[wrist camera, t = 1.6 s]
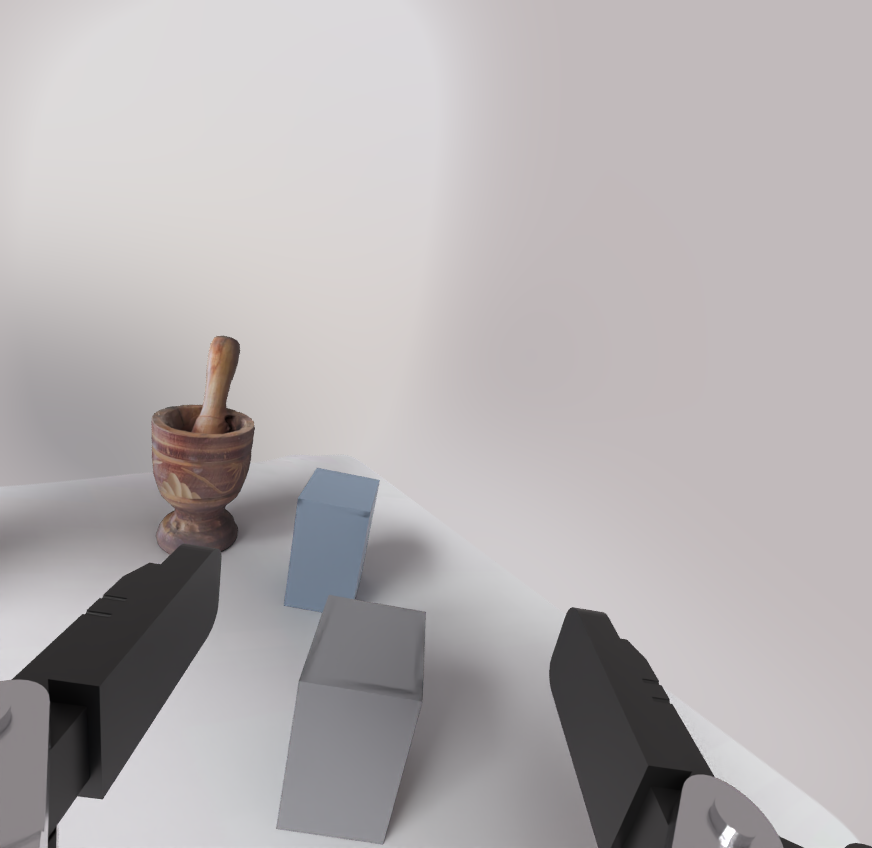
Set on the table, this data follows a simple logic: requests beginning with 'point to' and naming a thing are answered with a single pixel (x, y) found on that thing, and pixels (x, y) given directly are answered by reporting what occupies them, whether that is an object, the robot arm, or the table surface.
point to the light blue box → (329, 538)
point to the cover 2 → (353, 720)
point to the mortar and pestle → (202, 458)
